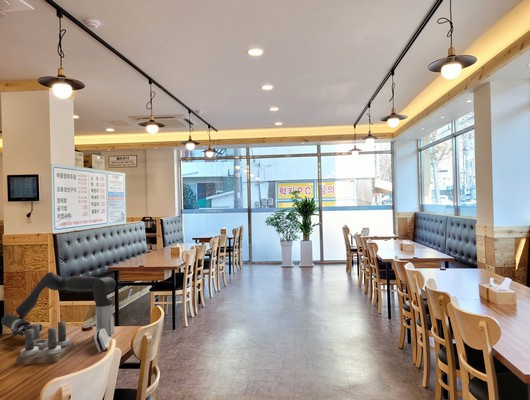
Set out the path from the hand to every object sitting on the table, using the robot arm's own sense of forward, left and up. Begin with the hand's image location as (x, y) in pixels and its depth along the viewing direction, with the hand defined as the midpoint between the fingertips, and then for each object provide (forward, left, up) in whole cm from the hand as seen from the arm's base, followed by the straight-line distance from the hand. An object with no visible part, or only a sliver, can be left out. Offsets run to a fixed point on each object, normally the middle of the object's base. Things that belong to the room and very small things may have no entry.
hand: (31, 331), depth 211 cm
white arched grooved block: (-41, +9, -7) cm, 43 cm away
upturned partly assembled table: (-16, +18, -7) cm, 26 cm away
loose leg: (-4, +4, -7) cm, 9 cm away
